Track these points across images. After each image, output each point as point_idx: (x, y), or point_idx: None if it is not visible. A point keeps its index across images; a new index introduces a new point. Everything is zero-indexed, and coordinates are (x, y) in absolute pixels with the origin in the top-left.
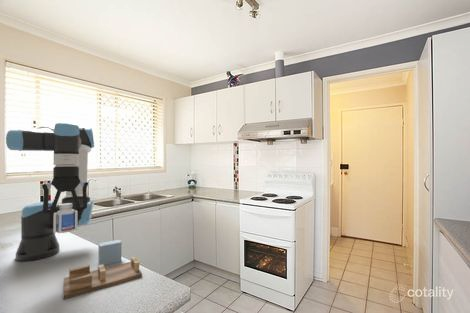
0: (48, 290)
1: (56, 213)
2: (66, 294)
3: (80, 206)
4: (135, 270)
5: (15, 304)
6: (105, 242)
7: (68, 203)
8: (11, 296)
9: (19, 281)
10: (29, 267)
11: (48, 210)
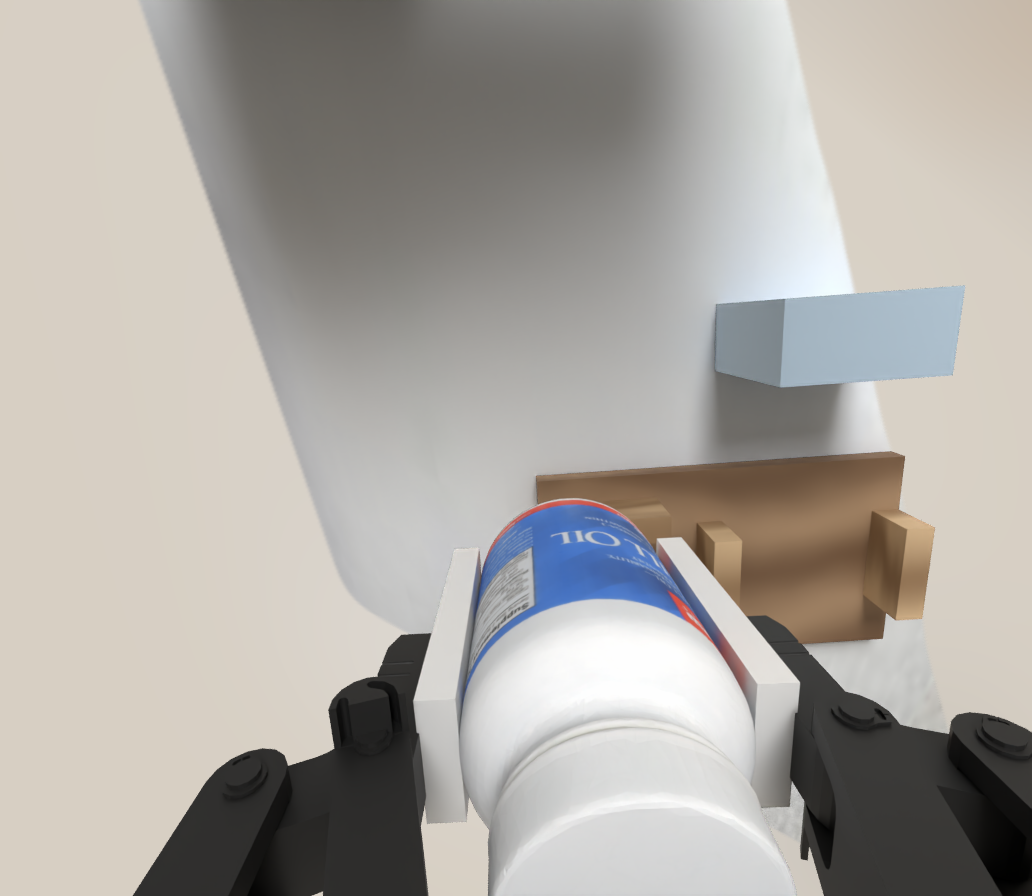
0: (480, 534)
1: (463, 785)
2: None
3: (911, 783)
4: (868, 594)
5: (377, 590)
6: (840, 302)
7: (706, 870)
8: (338, 507)
9: (320, 343)
10: (311, 121)
11: (320, 877)
